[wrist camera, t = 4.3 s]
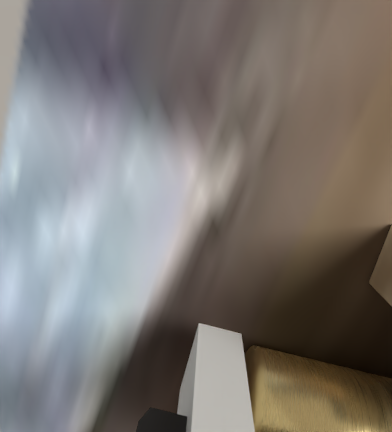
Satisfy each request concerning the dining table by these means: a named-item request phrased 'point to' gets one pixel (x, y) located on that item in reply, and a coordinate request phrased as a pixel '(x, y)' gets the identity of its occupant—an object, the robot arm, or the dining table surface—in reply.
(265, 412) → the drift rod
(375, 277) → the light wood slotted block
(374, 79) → the dining table surface
